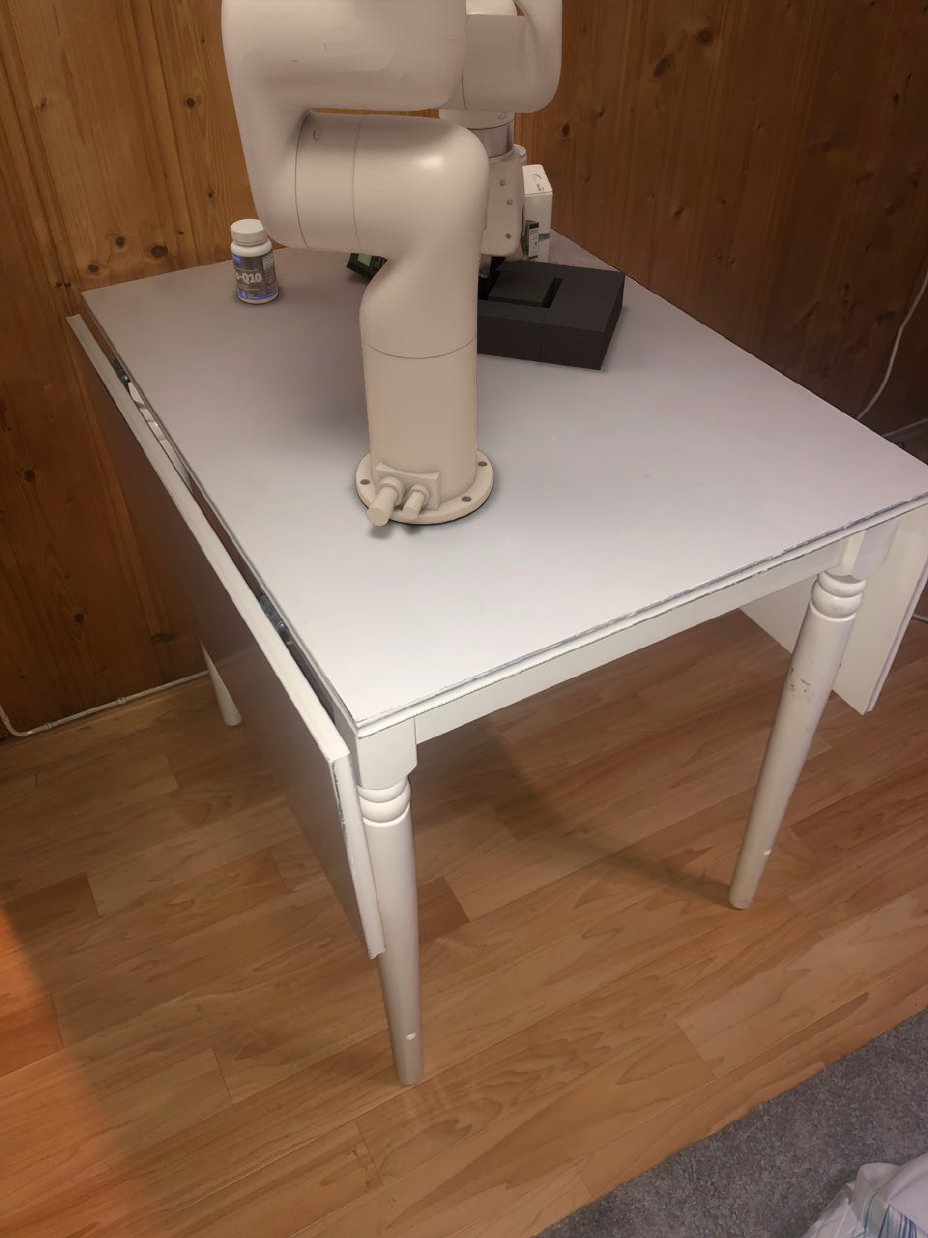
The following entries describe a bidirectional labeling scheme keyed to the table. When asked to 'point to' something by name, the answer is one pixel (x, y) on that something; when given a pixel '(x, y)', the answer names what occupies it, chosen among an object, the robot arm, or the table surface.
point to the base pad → (554, 317)
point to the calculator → (365, 264)
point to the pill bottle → (253, 262)
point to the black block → (523, 289)
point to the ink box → (537, 213)
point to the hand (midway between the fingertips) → (476, 304)
